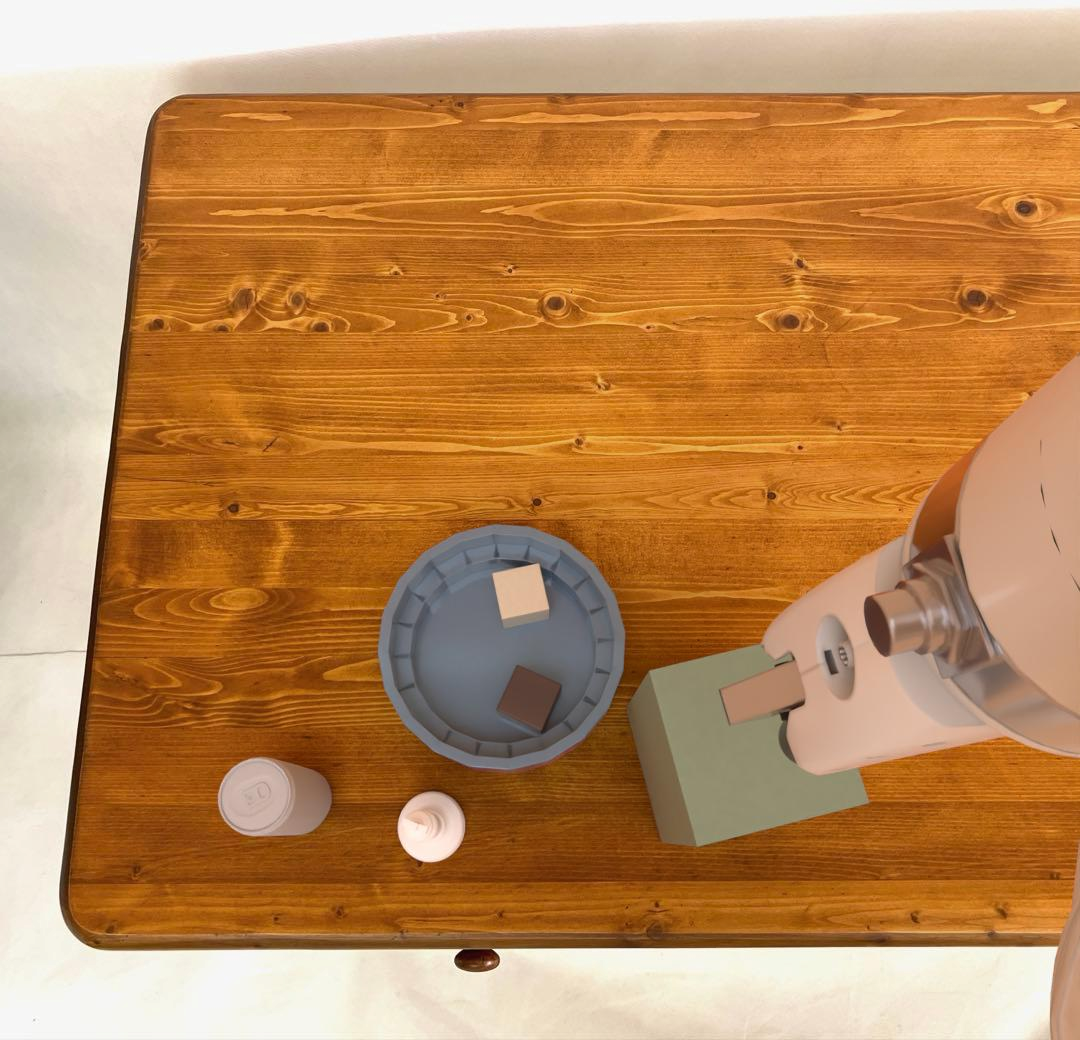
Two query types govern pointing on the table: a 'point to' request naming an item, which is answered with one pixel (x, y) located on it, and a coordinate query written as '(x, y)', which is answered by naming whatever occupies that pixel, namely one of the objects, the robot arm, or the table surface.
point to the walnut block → (529, 699)
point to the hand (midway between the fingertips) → (849, 689)
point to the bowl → (498, 648)
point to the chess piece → (431, 826)
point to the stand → (722, 756)
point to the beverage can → (273, 798)
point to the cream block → (521, 595)
